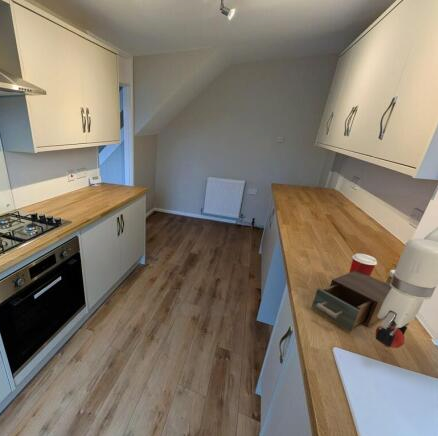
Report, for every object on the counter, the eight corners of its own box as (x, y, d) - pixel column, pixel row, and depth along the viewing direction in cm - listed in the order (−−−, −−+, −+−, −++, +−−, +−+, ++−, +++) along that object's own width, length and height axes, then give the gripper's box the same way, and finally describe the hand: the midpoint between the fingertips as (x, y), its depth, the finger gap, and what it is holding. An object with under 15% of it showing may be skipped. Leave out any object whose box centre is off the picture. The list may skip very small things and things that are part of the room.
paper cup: (369, 288, 101) (381, 259, 96) (362, 293, 97) (373, 263, 92) (347, 278, 107) (357, 251, 102) (339, 283, 103) (349, 255, 98)
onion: (367, 341, 70) (375, 319, 68) (379, 335, 72) (387, 314, 70) (392, 357, 65) (402, 335, 63) (404, 350, 67) (414, 328, 64)
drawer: (341, 337, 75) (350, 316, 72) (303, 311, 86) (308, 292, 83) (374, 319, 82) (382, 299, 79) (335, 297, 93) (341, 279, 90)
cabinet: (367, 326, 80) (378, 302, 77) (324, 301, 92) (332, 279, 88) (391, 313, 86) (401, 289, 83) (348, 291, 98) (355, 270, 95)
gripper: (407, 270, 68) (387, 320, 74) (376, 286, 62) (356, 339, 68) (447, 284, 62) (420, 337, 68) (416, 303, 55) (390, 360, 61)
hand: (388, 338), depth 68 cm, fingers closed on onion, 5 cm apart
